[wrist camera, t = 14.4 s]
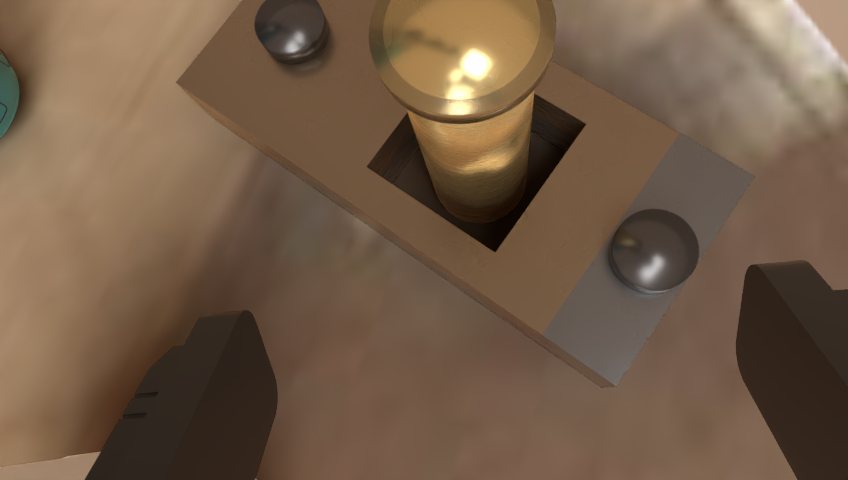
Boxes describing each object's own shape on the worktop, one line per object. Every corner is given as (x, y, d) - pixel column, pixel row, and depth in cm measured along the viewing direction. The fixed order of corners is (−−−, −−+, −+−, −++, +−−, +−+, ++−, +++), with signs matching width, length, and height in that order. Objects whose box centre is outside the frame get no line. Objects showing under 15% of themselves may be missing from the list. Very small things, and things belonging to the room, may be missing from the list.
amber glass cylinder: (403, 193, 28) (331, 52, 17) (466, 108, 29) (439, -86, 17) (494, 253, 27) (484, 147, 16) (557, 163, 28) (594, -3, 16)
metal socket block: (214, 118, 30) (163, 71, 26) (329, -26, 31) (300, -96, 27) (601, 387, 25) (621, 386, 21) (722, 205, 26) (766, 166, 22)
